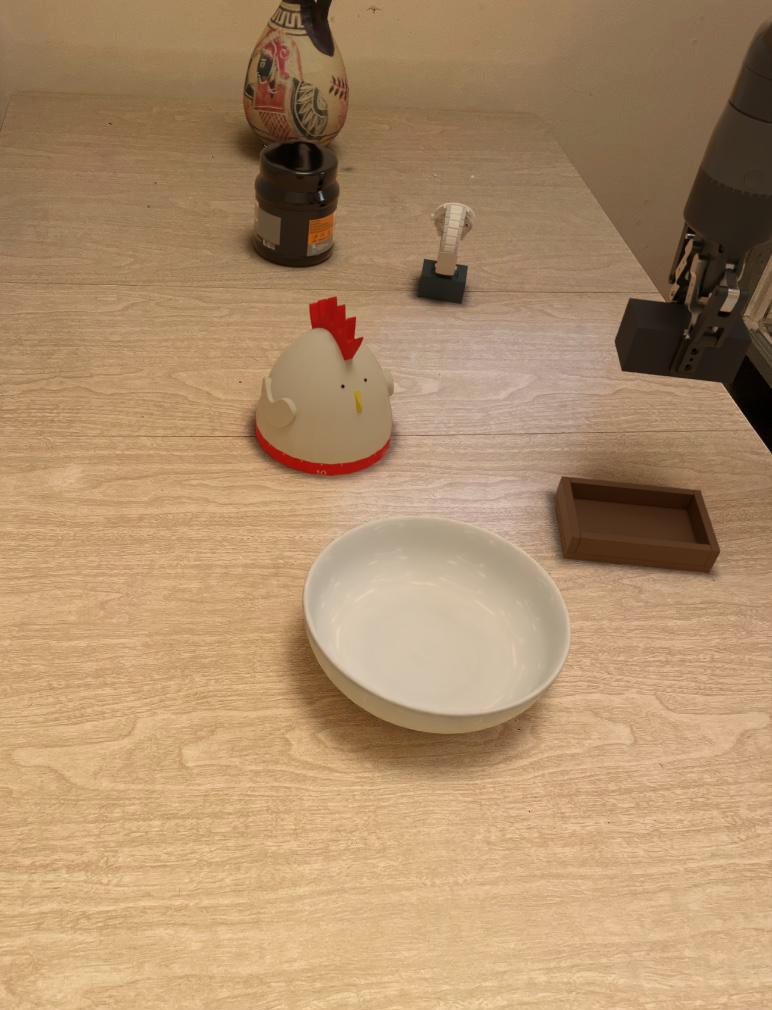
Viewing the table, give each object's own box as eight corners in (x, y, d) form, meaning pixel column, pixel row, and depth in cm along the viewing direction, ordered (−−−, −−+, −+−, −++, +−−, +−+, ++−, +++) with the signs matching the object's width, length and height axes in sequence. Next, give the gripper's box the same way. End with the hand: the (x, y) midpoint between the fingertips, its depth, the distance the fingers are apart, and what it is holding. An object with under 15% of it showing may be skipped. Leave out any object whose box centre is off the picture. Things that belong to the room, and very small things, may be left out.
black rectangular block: (720, 353, 90) (739, 310, 86) (732, 384, 86) (752, 340, 83) (614, 341, 89) (629, 297, 86) (621, 371, 86) (637, 327, 83)
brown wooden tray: (689, 513, 95) (700, 489, 93) (708, 574, 89) (721, 551, 87) (553, 499, 95) (561, 475, 92) (563, 560, 89) (572, 536, 87)
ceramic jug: (219, 149, 144) (221, -92, 122) (288, 124, 152) (300, -106, 131) (305, 188, 137) (323, -59, 115) (371, 160, 146) (400, -76, 124)
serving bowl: (493, 815, 70) (515, 762, 65) (248, 690, 76) (251, 632, 71) (584, 633, 83) (608, 577, 78) (369, 538, 89) (378, 481, 84)
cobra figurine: (464, 281, 123) (481, 196, 115) (460, 313, 117) (478, 226, 109) (420, 274, 123) (435, 189, 115) (414, 305, 118) (429, 218, 110)
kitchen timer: (297, 492, 92) (308, 357, 81) (231, 413, 100) (234, 280, 89) (415, 453, 98) (441, 322, 87) (345, 381, 105) (360, 252, 94)
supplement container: (350, 253, 125) (360, 160, 116) (293, 279, 119) (300, 183, 111) (292, 223, 130) (298, 131, 121) (235, 246, 124) (237, 151, 115)
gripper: (824, 216, 70) (732, 408, 83) (775, 138, 80) (699, 320, 92) (722, 204, 70) (645, 398, 82) (686, 128, 80) (622, 311, 92)
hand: (674, 356), depth 87 cm, fingers closed on black rectangular block, 5 cm apart
